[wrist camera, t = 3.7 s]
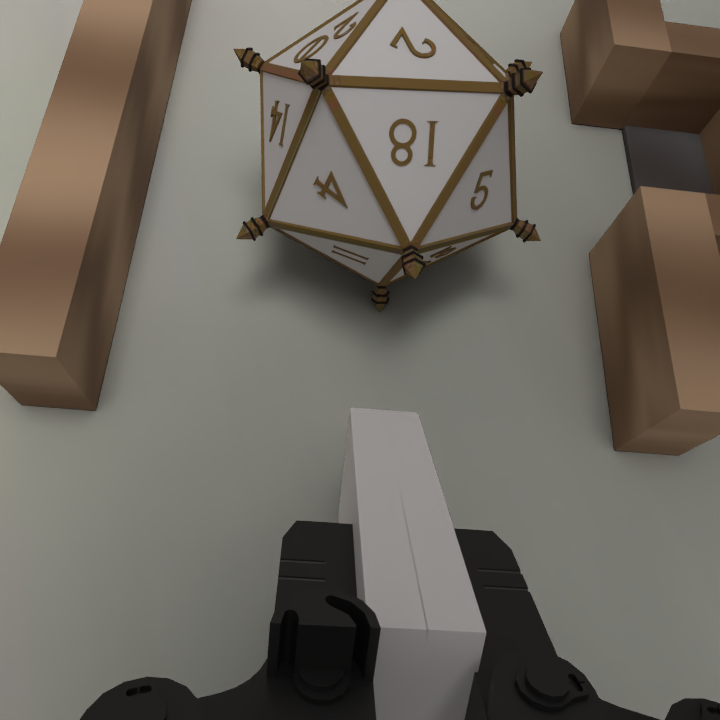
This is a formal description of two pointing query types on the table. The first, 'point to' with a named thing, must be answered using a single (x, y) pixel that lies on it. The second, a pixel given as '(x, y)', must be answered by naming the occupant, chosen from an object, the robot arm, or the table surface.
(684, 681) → the table surface
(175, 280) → the table surface
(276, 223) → the game die
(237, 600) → the table surface
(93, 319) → the wooden blocks
